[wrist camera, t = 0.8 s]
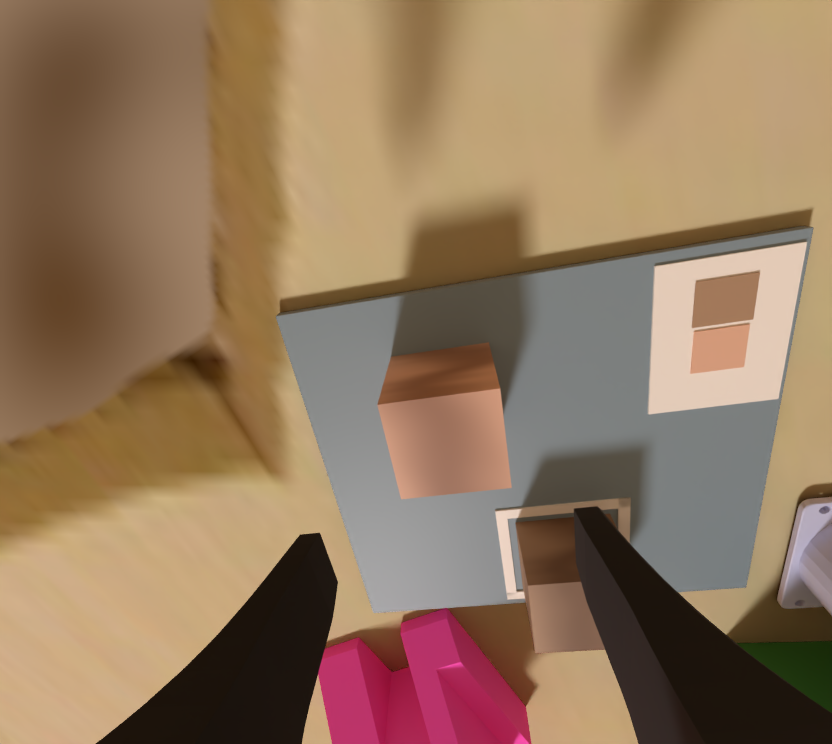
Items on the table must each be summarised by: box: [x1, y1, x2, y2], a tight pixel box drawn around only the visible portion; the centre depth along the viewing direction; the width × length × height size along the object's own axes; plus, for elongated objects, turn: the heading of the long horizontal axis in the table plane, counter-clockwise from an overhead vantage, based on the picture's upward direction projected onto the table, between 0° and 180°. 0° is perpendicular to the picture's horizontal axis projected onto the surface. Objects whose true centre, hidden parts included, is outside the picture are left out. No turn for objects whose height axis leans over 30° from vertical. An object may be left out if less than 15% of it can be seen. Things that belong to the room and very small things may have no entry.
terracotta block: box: [377, 342, 512, 499], centre depth 19 cm, size 4×4×4 cm
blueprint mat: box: [276, 226, 813, 613], centre depth 22 cm, size 22×20×1 cm
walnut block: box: [515, 514, 617, 653], centre depth 23 cm, size 5×5×4 cm
